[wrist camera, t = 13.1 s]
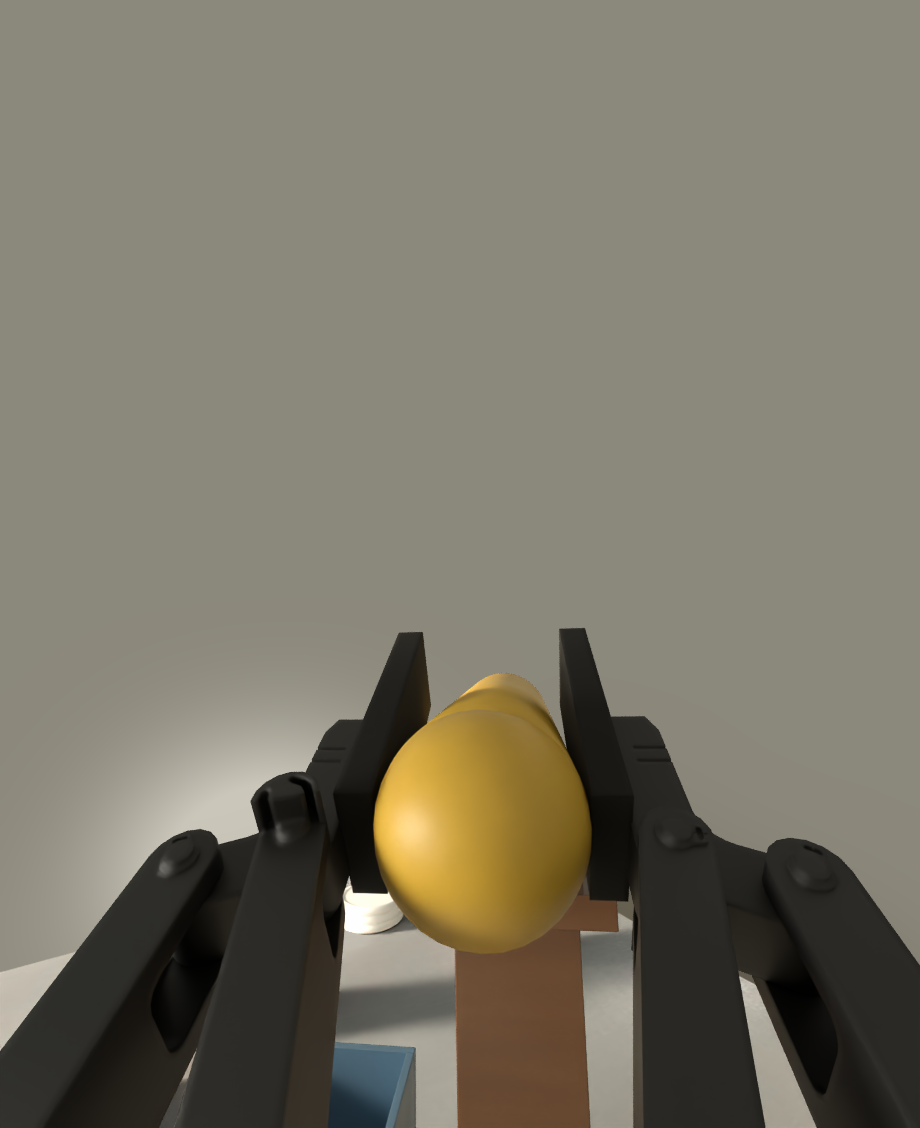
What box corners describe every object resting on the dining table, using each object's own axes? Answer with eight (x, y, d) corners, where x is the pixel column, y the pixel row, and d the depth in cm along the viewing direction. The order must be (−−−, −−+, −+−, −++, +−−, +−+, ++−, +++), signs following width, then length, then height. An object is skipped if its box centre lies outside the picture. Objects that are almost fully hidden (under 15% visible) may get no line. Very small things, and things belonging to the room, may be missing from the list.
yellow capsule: (620, 1024, 7) (600, 723, 8) (338, 1008, 8) (343, 724, 9) (546, 751, 27) (543, 670, 28) (467, 752, 28) (465, 672, 28)
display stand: (666, 1671, 20) (614, 869, 25) (417, 1623, 21) (413, 864, 26) (610, 1277, 33) (583, 795, 38) (455, 1260, 34) (448, 793, 39)
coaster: (409, 902, 83) (409, 878, 84) (396, 936, 73) (396, 909, 74) (348, 901, 84) (349, 877, 84) (328, 934, 74) (328, 907, 75)
